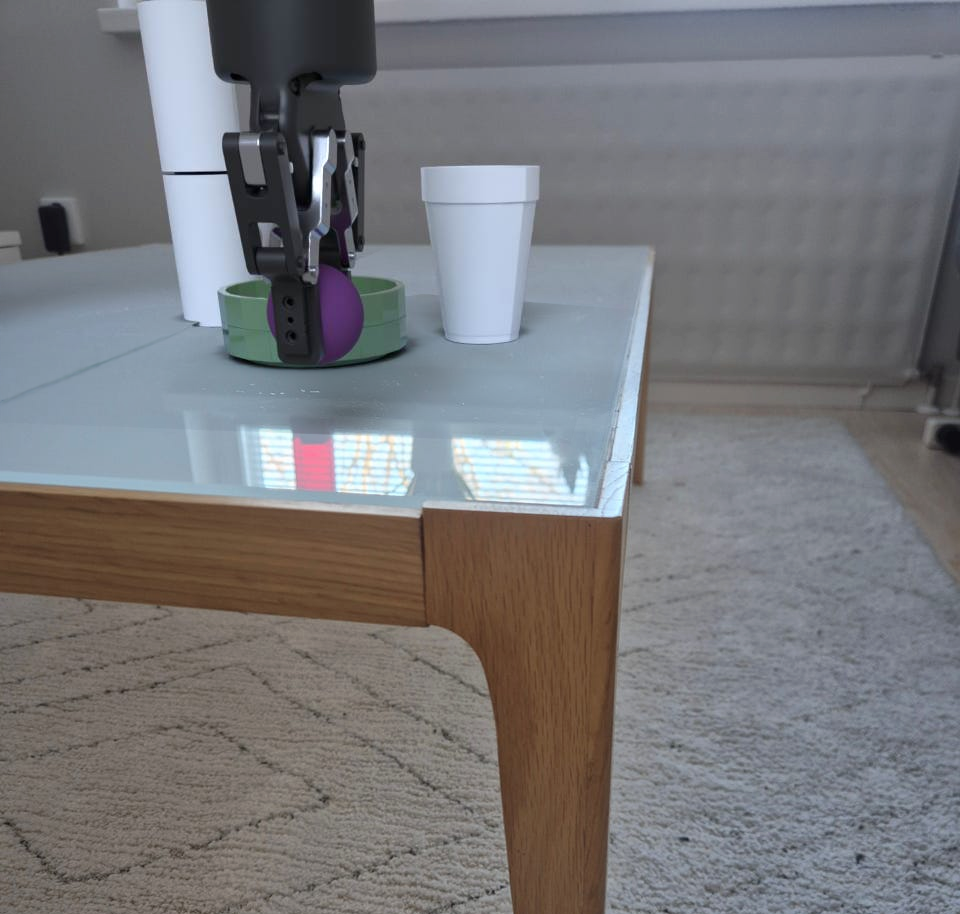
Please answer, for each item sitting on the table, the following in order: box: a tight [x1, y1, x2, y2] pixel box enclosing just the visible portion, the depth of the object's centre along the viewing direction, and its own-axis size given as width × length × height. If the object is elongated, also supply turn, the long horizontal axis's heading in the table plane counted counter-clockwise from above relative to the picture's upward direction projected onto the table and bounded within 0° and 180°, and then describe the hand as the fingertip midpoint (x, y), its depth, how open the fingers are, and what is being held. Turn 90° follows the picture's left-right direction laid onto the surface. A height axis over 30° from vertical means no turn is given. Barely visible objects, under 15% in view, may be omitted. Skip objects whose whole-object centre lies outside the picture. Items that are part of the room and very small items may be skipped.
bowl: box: [217, 274, 408, 369], centre depth 74 cm, size 14×14×5 cm
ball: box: [267, 263, 364, 364], centre depth 49 cm, size 5×5×5 cm
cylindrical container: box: [136, 0, 258, 328], centre depth 84 cm, size 7×7×25 cm
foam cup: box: [420, 164, 541, 345], centre depth 77 cm, size 10×9×13 cm
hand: (318, 350), depth 50 cm, fingers closed on ball, 5 cm apart
